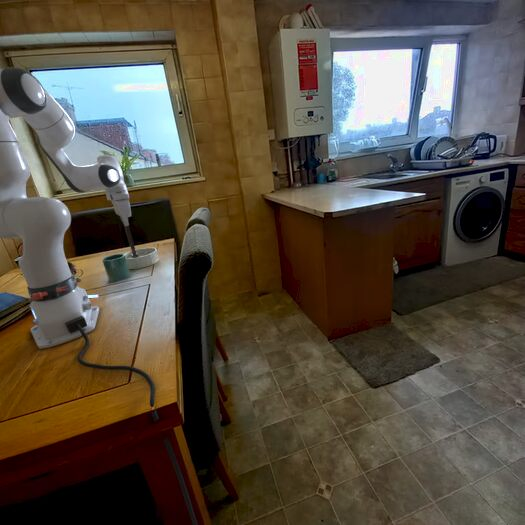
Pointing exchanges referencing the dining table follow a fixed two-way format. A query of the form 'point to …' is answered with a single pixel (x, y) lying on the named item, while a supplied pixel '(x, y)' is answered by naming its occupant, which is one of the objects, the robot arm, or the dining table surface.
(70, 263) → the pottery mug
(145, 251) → the bowl
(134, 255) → the stirring stick
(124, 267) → the utensil pot
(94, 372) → the dining table surface
